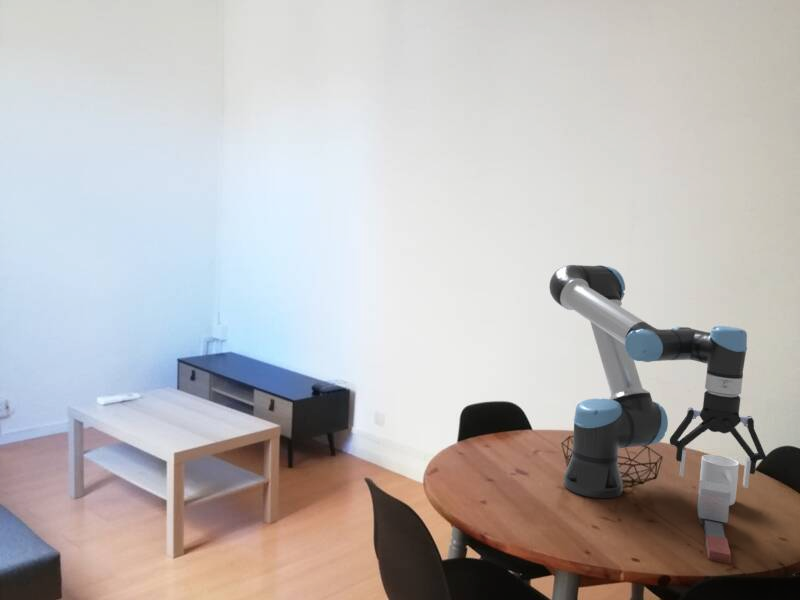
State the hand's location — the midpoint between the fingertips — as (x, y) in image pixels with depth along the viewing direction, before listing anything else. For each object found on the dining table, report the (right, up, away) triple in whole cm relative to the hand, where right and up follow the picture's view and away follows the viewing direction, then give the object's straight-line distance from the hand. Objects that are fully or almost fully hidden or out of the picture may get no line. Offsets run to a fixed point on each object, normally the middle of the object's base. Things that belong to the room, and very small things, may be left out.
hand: (712, 480), depth 146 cm
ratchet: (-4, -11, -8) cm, 14 cm away
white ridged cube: (0, -8, 0) cm, 8 cm away
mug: (+8, -10, +13) cm, 18 cm away
